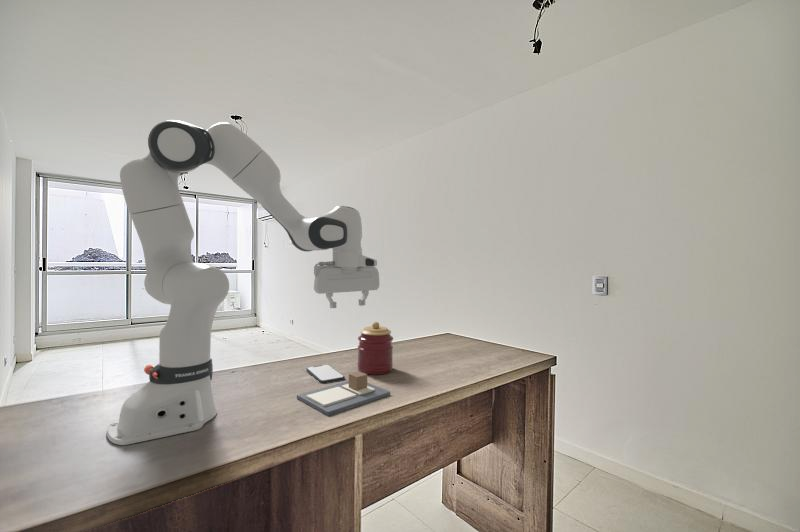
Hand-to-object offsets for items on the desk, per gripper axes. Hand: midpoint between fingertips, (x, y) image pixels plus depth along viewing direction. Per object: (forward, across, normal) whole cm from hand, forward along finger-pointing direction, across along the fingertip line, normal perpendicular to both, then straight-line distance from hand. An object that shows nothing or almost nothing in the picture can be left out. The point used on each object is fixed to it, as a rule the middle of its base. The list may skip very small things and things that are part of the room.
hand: (347, 306), depth 112 cm
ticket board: (+26, -3, -4) cm, 26 cm away
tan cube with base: (+25, +2, -2) cm, 25 cm away
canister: (+27, +17, +16) cm, 36 cm away
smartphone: (+27, -1, +18) cm, 33 cm away
